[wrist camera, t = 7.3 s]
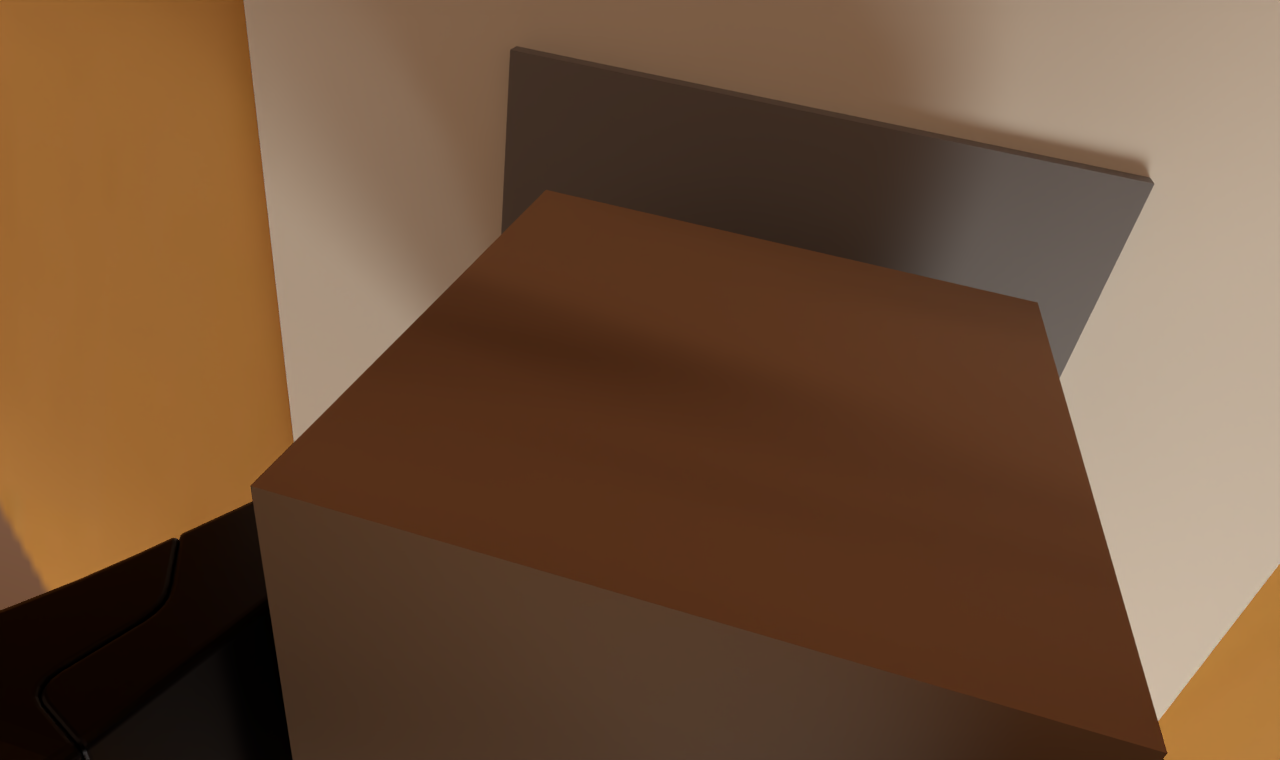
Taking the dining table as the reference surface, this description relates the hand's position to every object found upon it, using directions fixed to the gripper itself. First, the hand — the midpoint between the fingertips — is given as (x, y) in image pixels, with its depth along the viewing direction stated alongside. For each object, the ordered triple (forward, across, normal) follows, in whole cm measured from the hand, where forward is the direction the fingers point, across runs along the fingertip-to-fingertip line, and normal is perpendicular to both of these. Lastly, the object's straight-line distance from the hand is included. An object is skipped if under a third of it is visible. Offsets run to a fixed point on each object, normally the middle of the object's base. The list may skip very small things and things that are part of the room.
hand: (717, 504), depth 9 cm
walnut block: (+1, 0, 0) cm, 1 cm away
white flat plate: (+4, 0, 0) cm, 4 cm away
